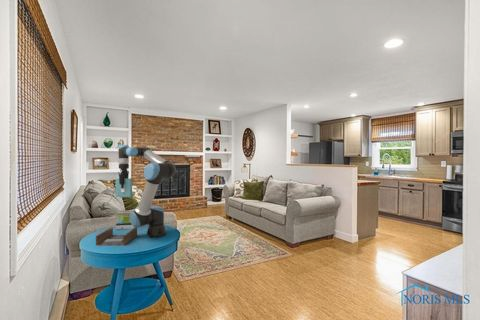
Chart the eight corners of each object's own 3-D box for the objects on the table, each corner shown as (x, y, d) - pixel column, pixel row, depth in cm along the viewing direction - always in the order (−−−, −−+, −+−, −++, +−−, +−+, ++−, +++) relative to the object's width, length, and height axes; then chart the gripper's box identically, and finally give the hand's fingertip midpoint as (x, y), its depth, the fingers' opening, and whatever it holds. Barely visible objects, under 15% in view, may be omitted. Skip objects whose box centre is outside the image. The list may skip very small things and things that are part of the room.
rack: (137, 237, 190) (137, 227, 190) (124, 247, 169) (124, 235, 169) (111, 237, 190) (111, 227, 190) (95, 247, 170) (95, 235, 169)
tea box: (115, 229, 210) (115, 213, 210) (119, 226, 220) (118, 210, 220) (134, 228, 213) (133, 212, 213) (136, 225, 223) (136, 209, 223)
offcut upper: (124, 241, 177) (123, 238, 177) (121, 243, 172) (121, 240, 172) (106, 241, 176) (106, 239, 176) (103, 244, 171) (103, 241, 171)
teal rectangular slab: (132, 196, 202) (131, 178, 201) (130, 197, 199) (130, 178, 198) (117, 196, 202) (117, 178, 201) (115, 197, 199) (115, 178, 198)
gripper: (123, 163, 208) (124, 190, 208) (114, 163, 192) (114, 193, 192) (132, 163, 208) (132, 190, 208) (123, 163, 192) (123, 193, 192)
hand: (124, 191), depth 200 cm, fingers closed on teal rectangular slab, 3 cm apart
